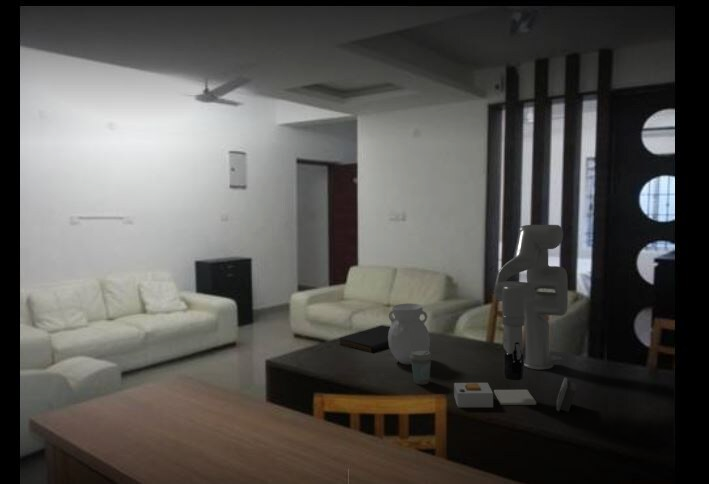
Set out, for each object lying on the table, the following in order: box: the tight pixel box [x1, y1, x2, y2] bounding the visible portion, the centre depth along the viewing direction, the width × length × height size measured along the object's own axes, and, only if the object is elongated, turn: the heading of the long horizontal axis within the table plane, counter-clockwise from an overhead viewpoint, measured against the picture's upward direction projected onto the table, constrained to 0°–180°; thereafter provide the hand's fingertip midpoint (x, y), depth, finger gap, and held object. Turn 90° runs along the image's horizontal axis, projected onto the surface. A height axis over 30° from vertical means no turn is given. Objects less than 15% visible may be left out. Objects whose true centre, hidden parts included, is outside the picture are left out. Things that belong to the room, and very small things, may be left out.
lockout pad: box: [493, 389, 537, 406], centre depth 181 cm, size 12×12×1 cm
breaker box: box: [453, 382, 494, 408], centre depth 179 cm, size 12×10×5 cm
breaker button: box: [465, 382, 480, 391], centre depth 179 cm, size 4×4×4 cm
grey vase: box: [388, 303, 431, 365], centre depth 226 cm, size 19×18×25 cm
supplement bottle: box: [503, 350, 525, 382], centre depth 180 cm, size 7×7×12 cm
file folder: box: [338, 325, 390, 354], centre depth 262 cm, size 33×4×24 cm
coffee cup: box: [410, 350, 433, 386], centre depth 200 cm, size 9×8×12 cm
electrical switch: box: [556, 377, 576, 413], centre depth 171 cm, size 9×5×9 cm, turn 158°
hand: (513, 369), depth 180 cm, fingers closed on supplement bottle, 6 cm apart
